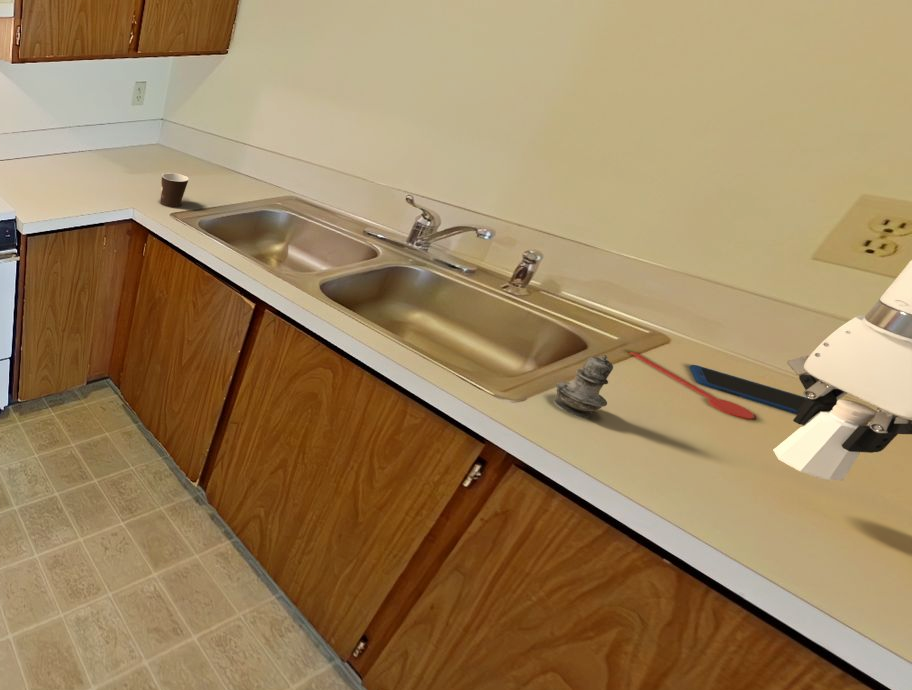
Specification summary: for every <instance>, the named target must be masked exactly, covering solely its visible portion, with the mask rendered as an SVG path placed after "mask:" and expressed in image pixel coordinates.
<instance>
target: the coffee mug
mask: <svg viewBox="0 0 912 690" xmlns="http://www.w3.org/2000/svg"><path fill="white" fill-rule="evenodd" d="M189 180H190V178H189V177H188V176H186V175H185V174H184V175H183V174H180V173H174V172H166V173H162V174H161V182H160V183H161V185H160V204H161V205H162V206H164V207H166V208H179V207H181V203H182V200H183V197H184V195H185V192H186V189H187V186H188V183H189Z"/></svg>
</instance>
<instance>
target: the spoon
mask: <svg viewBox="0 0 912 690" xmlns="http://www.w3.org/2000/svg"><path fill="white" fill-rule="evenodd" d="M629 354H630V355H632V356H633V357H635V358H637V359H639V360H641V361H642V362H644V363H646V364H647V365H650V366H651V367H653V368H654V369H656V370H658V371H660V372H662V373H663V374H665V375H666V376H669V377H671V378H672V379H673V380H676V381H677V382H679V383H681V384H682V385H684V386H686V387H688V388H689V389H691V390H693V391H695V392H697V393H698V394H699V395H701V396H703V397H705V398H707V399H709V400H708V404H709V405H711V406H712V407H713V408H715V409H716V410H719V411H721V412H723V413H725V414H727V415H730V416H733V417H736V418H739V419H744V420H753V419H754V418H755V415H754V413H752V412H751V411H750V410H749V409H747V408H746V407H743V406H741V405H740V404H737V403H734V402H732V401H729V400H725V399H720V398H717V397H715V396H713V395H711V394H710V393H708V392H707V391H704V390H703V389H701V388H699V387H697V386H696V385H694V384H692V383H690V382H689V381H687V380H685V379H683V378H681V377H680V376H678V375H677V374H674V373H672V372H671V371H670V370H667V369H665V368H664V367H662V366H660V365H659V364H657V363H655V362H653V361H652V360H650V359H648V358H647V357H644V356H642V355H641V354H639V353H637V352H629Z"/></svg>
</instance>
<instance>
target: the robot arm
mask: <svg viewBox="0 0 912 690" xmlns="http://www.w3.org/2000/svg"><path fill="white" fill-rule="evenodd" d="M786 363H787V366H788V367H790V369H791V370H792V371H793V372H794V373H795V374H796V375H797V376H798V379H799V381H800V383H801V385H802V387H803V388H804V391H803V397H806V398H807V399H806V401H805V402H804V403H803V404H802V406H801V407H800V408H799V409H798V410H797V414H798V415H796V416H795V417H794V418H793V420H792V421H793V422H794V423H796V424H798V425H801V426H803V425H804V424H806V423H807V422H808V421H809V420H810V419H811V418H812V417H814V416H815V415H816V414H817V413H819V412H820V411H831V410H833V409H832V408H833V407H834V405H836V404H837V401H838V400H841V398H843V397H844V396H846V395H847V394H848V395H850V396H852V397H855V398H856V399H860V400H861V401H863V402H864V403H867V404H870V405H871V406H874V407H876V410H875V411H876V413H875V415H874V417H873V419H872V421H871V422H869V423H870V424H868V426H859V427H858V428H857V429H856V430H855V431H854V432H853V433H852V434H851V435H850V436H849V438H848V439H847V440H846V441H845V442H844V443H843V444H842V447H843V448H844V449H846V450H848V451H850V452H860V453H866V454H867V453H869V454H873V453H879V452H881V451H882V452H883V450H884V449H886V447H887V446H888V445H889V444H890V443H891V442H892V441H893V440H894V439H895V438H896V437H897V436H898V435H912V259H910V260H909V262H908V263H907V264H906V265H905V267H904V268H903V270H902V271H901V272H900V273H899V274H898V276H897V277H896V278H895V279H894V280H893V281H892V283H891V284H890V285H889V286H888V288H887V289H886V290H885V291H884V292H883V294H882V295H881V296H880V298H879V299H878V300H877V301H876V302H875V304H874V305H872V307H871V309H870V310H869V311H868V312H867V314H863V315H857V316H855V317H853V318H851V319H850V320H848V321H847V322H845V323H844V324H843V325H841V326H840V327H838V328H837V329H836V330H834V331H833V332H832V333H830V334H829V335H828V336H827V337H826V338H825V339H824V340H822V342H821V343H820V344H819V345H818V346H817V347H816V348H815V349H814V350H813V351H812V352H811V353H810V354H809V355H805V356H801V357H796V358H793V359H789V360H788V361H787V362H786Z"/></svg>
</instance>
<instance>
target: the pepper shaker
mask: <svg viewBox="0 0 912 690" xmlns="http://www.w3.org/2000/svg"><path fill="white" fill-rule="evenodd" d="M832 409H833V410H831V411H820V412H819V413H817V414H816V415H815V416H814V417H812V418H811V419H810V420H809V421H808V422H807V423H806V424H804V425H801V426H800V427H799V428H798V429H796V430H795V431H794V432H793V433H792V434H790V435H789V436H788V437H787V438H786V439H784V440H783V441H782V442H781V443H779V444H778V445H777V446H776V447H775V448H773V450H772V451H773V453H774V454H775V456H776V458H777V460H779V462H782V463H784V464H786V465H787V466H788V467H791V468H792V469H794V470H796V471H798V472H799V473H803V474H805V475H809V476H812V477H815V478H817V479H821V480H823V481H827V482H828V481H829V482H830V481H833V482H834V481H837V482H838V481H845V479H846V477H847V475H848V473H849V472H850V471H851V468H852V467H853V466H854V463H855V462H856V460H857V458H858V457H859V455H860V453H861V452H850V451H848V450H846V449H844V448H843V447H842V444H843V443H844V442H845V441H846V440H847V439H848V438H849V436H850V435H851V434H852V433H853V432H854V431H855V430H856V429H857V428H858V427H859V426H869V423H871V421H872V419H873V417H874V415H875V413H876V410H875V409H874V408H872V407H870V406H868V405H866V404H863V403H860V402H858V401H854V400H849V399H838V401H837V404H836V405H834V407H833V408H832Z"/></svg>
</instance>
